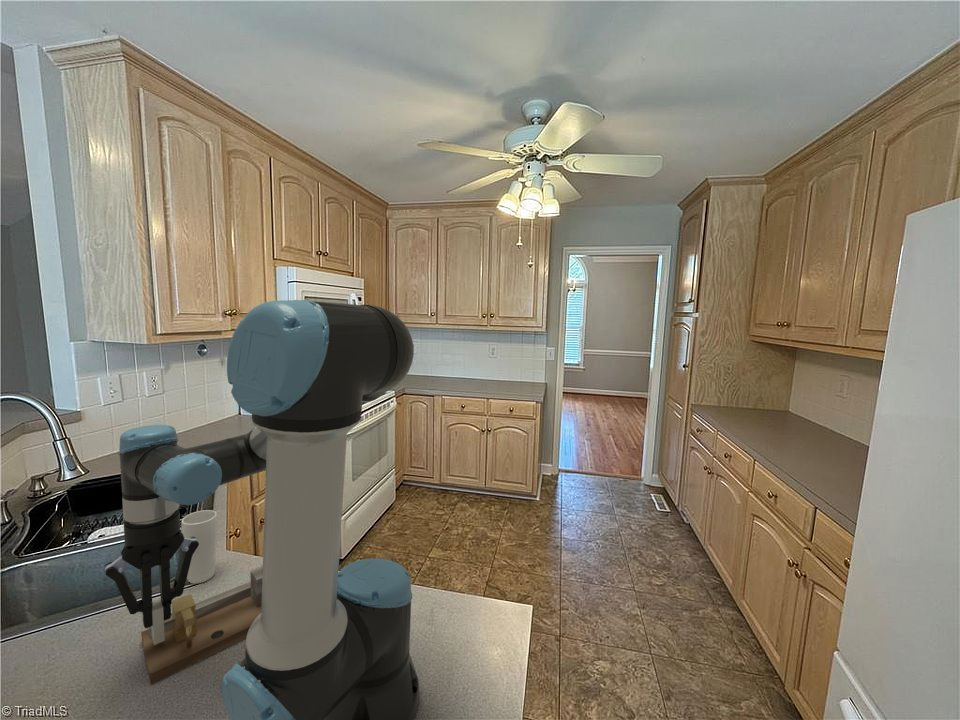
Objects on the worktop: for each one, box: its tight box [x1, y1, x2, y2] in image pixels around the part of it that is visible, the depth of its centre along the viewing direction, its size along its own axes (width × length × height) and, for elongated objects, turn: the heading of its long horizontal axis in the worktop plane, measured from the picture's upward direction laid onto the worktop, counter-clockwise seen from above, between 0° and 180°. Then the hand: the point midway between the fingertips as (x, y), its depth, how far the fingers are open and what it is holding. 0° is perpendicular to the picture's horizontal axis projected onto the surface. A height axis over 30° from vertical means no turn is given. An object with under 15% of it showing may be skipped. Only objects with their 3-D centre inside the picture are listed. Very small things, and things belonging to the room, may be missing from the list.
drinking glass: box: [180, 509, 218, 585], centre depth 91 cm, size 7×7×15 cm
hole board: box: [140, 565, 263, 686], centre depth 78 cm, size 12×24×8 cm, turn 136°
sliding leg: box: [171, 593, 196, 648], centre depth 73 cm, size 7×3×6 cm, turn 46°
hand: (158, 638), depth 71 cm, fingers closed
